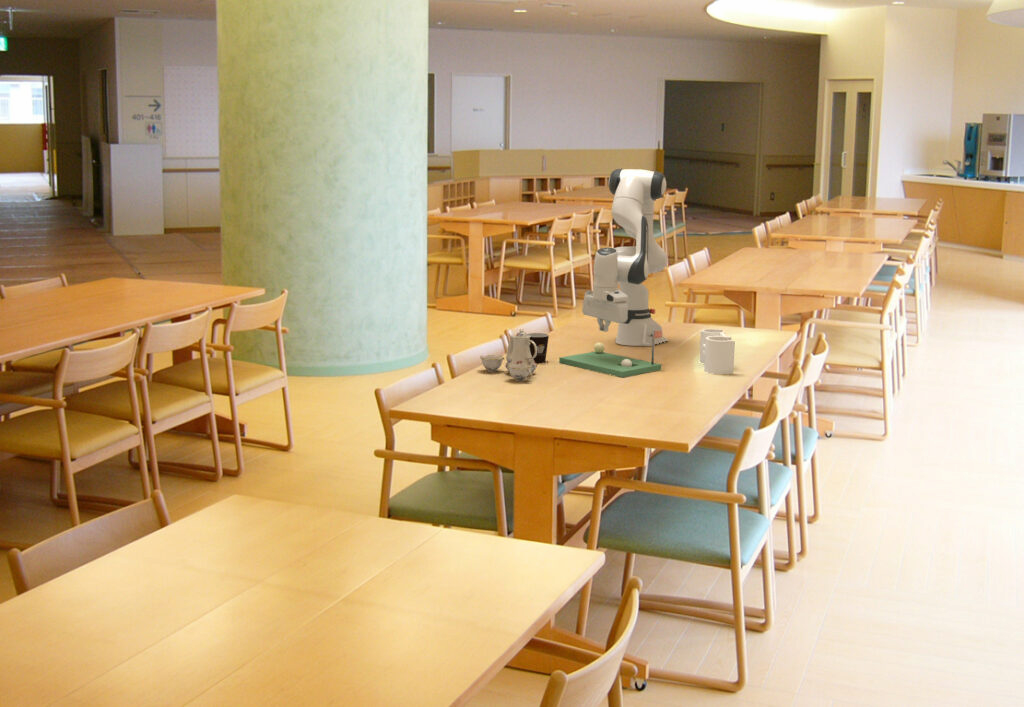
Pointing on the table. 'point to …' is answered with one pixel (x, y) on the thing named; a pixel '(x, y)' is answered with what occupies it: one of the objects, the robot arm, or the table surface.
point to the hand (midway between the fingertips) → (603, 330)
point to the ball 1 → (599, 347)
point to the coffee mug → (539, 346)
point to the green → (609, 364)
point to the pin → (654, 335)
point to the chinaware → (514, 357)
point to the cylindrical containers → (717, 351)
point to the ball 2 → (626, 363)
